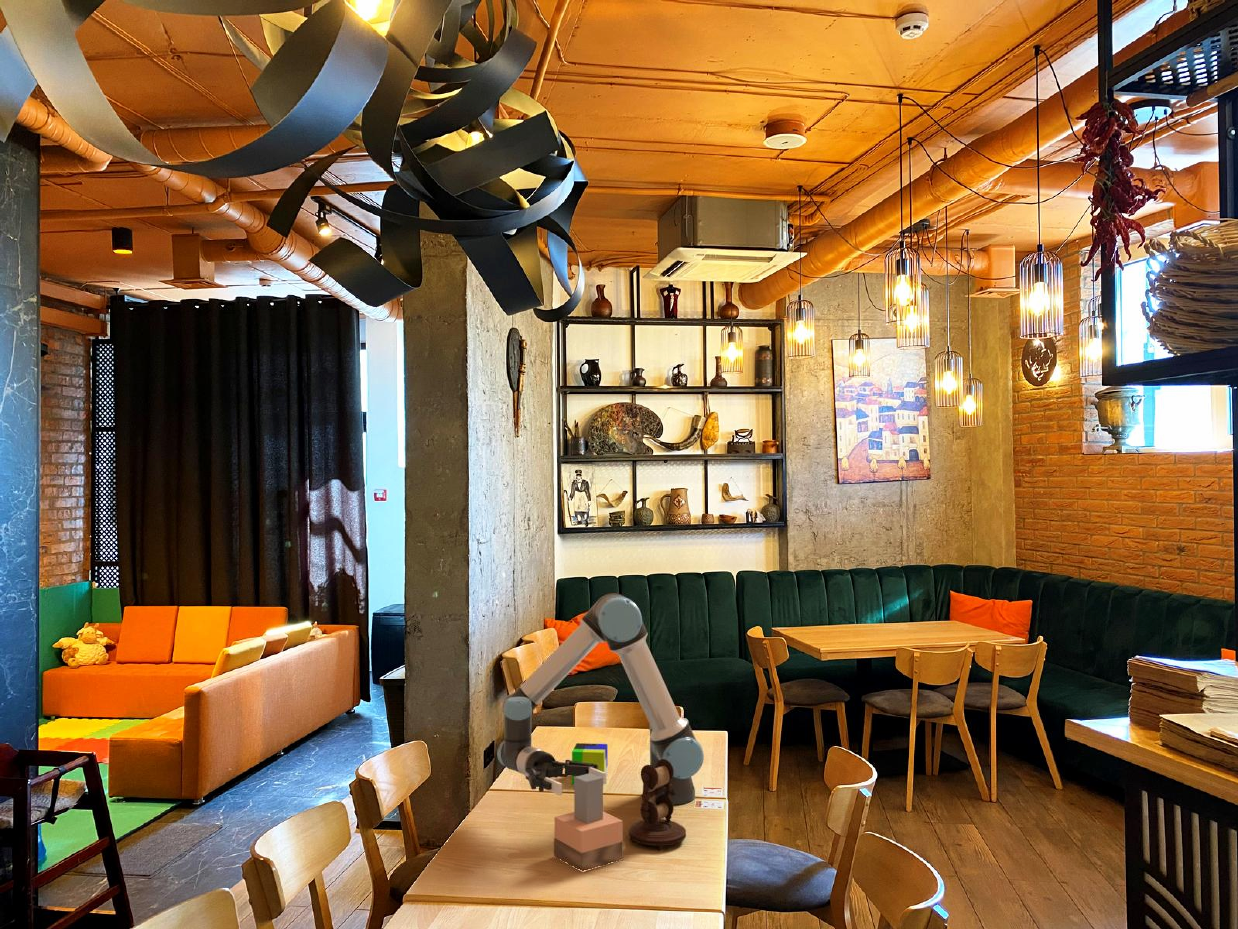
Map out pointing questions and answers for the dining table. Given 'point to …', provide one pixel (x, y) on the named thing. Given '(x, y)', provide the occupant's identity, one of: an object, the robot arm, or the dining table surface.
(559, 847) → the tower bottom
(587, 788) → the grey block
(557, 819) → the tower top
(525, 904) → the dining table surface
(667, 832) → the scroll
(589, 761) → the puzzle toy
